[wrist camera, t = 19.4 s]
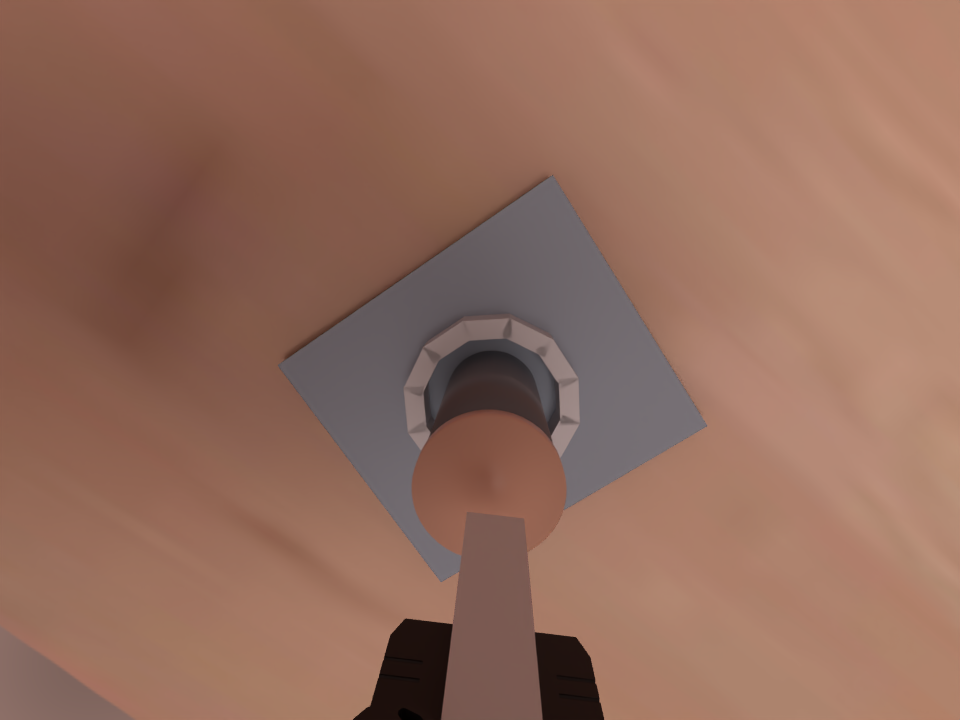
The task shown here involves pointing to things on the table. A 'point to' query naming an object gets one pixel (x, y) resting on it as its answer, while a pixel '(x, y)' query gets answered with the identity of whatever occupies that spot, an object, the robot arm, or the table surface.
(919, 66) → the table surface
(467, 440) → the canister
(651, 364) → the board
